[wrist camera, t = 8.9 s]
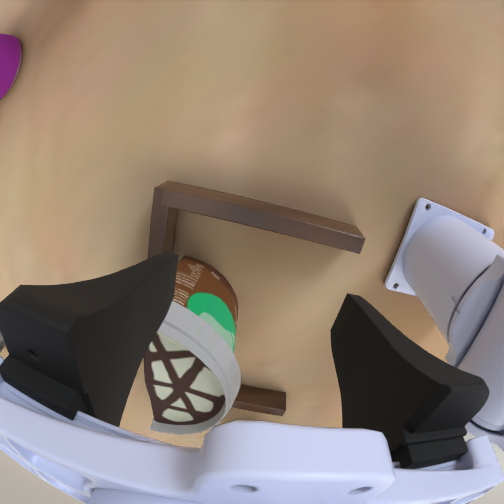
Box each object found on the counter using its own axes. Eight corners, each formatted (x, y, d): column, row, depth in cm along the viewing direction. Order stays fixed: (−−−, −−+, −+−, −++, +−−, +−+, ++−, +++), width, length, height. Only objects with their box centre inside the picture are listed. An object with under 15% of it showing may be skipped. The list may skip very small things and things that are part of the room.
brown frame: (357, 226, 21) (365, 238, 19) (282, 398, 29) (282, 416, 27) (167, 180, 21) (154, 187, 19) (154, 367, 29) (146, 383, 27)
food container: (242, 364, 27) (227, 450, 18) (182, 352, 28) (150, 432, 18) (263, 251, 22) (250, 337, 13) (185, 238, 23) (128, 310, 13)
